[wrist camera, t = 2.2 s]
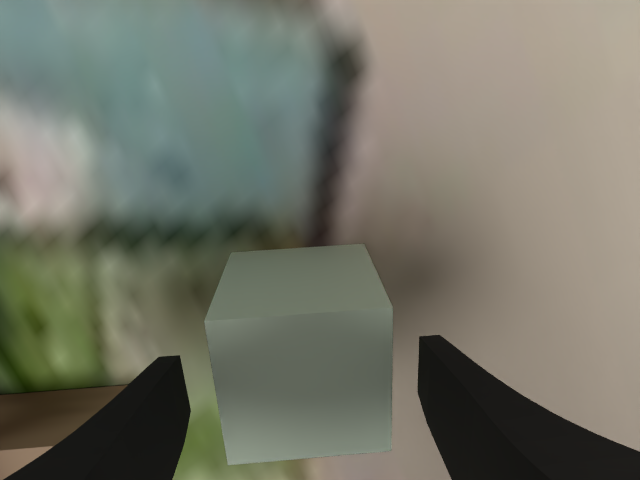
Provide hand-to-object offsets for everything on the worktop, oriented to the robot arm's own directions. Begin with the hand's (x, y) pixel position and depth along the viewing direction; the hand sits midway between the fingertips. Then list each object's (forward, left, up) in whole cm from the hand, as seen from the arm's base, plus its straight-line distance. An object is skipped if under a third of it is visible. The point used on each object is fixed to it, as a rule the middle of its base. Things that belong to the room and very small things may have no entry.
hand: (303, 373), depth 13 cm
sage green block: (0, 0, -4) cm, 4 cm away
